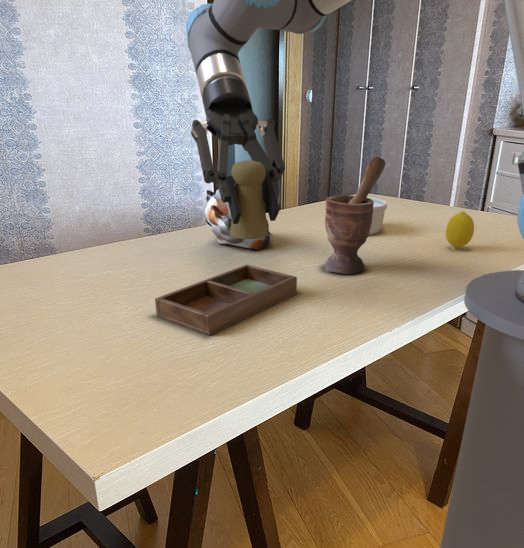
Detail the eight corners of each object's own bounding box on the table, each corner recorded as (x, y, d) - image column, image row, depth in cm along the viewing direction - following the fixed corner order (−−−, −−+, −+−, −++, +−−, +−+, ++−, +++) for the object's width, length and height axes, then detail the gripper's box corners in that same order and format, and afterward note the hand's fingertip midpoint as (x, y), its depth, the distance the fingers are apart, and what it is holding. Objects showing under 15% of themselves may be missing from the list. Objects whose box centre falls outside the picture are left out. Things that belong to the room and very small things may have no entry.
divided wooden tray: (296, 293, 90) (297, 276, 88) (209, 335, 75) (208, 316, 73) (246, 280, 96) (246, 264, 94) (156, 316, 81) (154, 298, 80)
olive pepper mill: (273, 237, 82) (274, 162, 77) (236, 240, 81) (234, 164, 76) (260, 228, 87) (260, 157, 82) (225, 231, 86) (223, 159, 81)
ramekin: (394, 229, 129) (397, 200, 126) (365, 240, 120) (368, 209, 117) (348, 221, 136) (350, 193, 133) (318, 231, 128) (319, 201, 125)
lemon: (475, 249, 113) (482, 212, 109) (459, 254, 110) (465, 215, 106) (454, 244, 117) (460, 207, 113) (437, 248, 114) (443, 210, 111)
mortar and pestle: (342, 256, 109) (349, 153, 100) (381, 263, 105) (392, 156, 96) (314, 270, 101) (319, 159, 92) (355, 279, 96) (365, 163, 87)
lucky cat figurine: (276, 250, 112) (250, 195, 103) (225, 271, 115) (195, 220, 105) (269, 215, 123) (244, 162, 114) (222, 235, 126) (195, 185, 116)
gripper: (271, 109, 92) (305, 226, 85) (166, 111, 87) (193, 235, 80) (283, 75, 85) (320, 198, 78) (169, 74, 80) (199, 207, 73)
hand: (256, 217), depth 79 cm, fingers closed on olive pepper mill, 5 cm apart
